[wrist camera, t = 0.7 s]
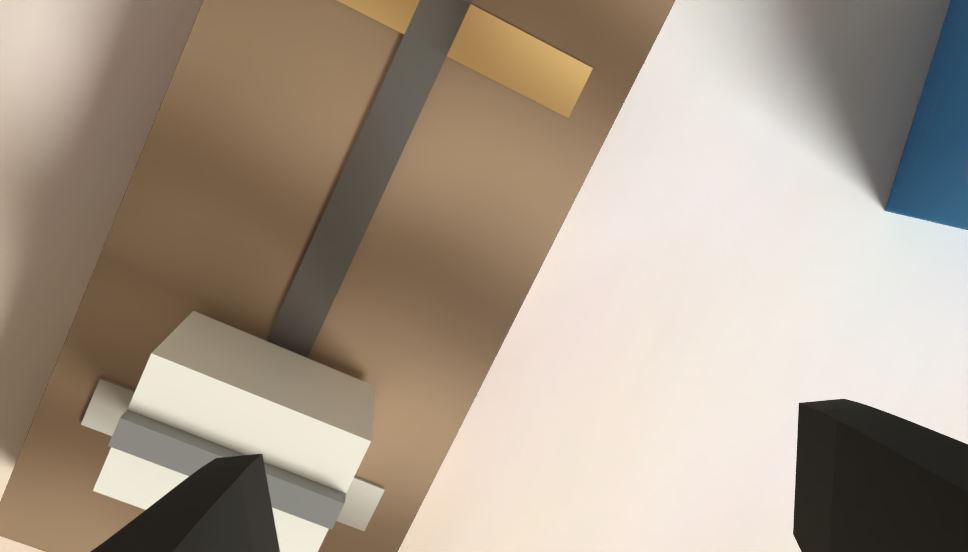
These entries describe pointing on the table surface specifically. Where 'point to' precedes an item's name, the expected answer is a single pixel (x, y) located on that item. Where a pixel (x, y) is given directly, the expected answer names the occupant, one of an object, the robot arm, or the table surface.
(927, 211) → the perfume bottle
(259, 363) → the fader knob
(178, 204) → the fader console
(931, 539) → the robot arm
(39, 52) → the table surface
